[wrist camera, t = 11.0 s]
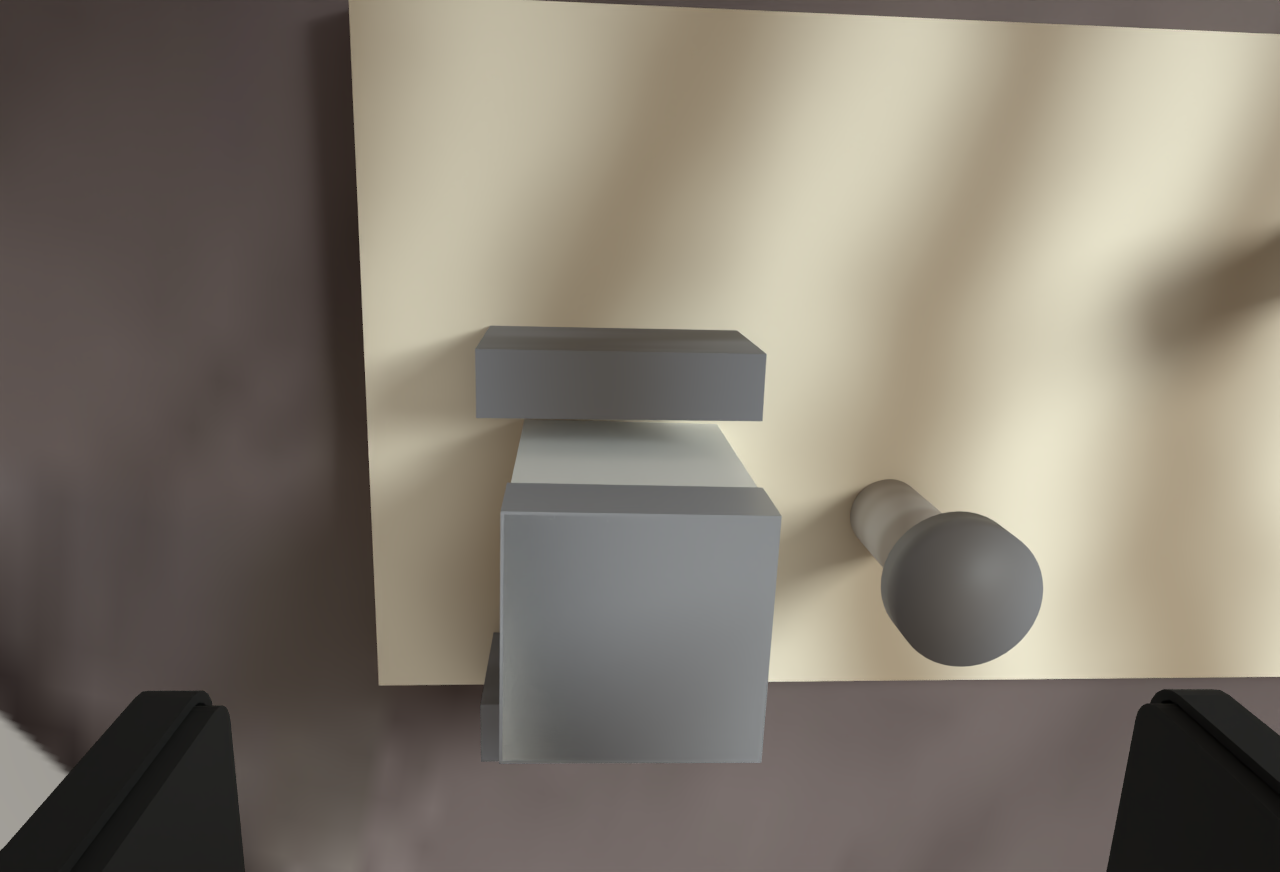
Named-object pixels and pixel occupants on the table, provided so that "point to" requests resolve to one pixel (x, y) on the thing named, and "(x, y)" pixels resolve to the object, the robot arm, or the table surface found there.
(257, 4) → the table surface
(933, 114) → the board
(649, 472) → the grey rectangular block
